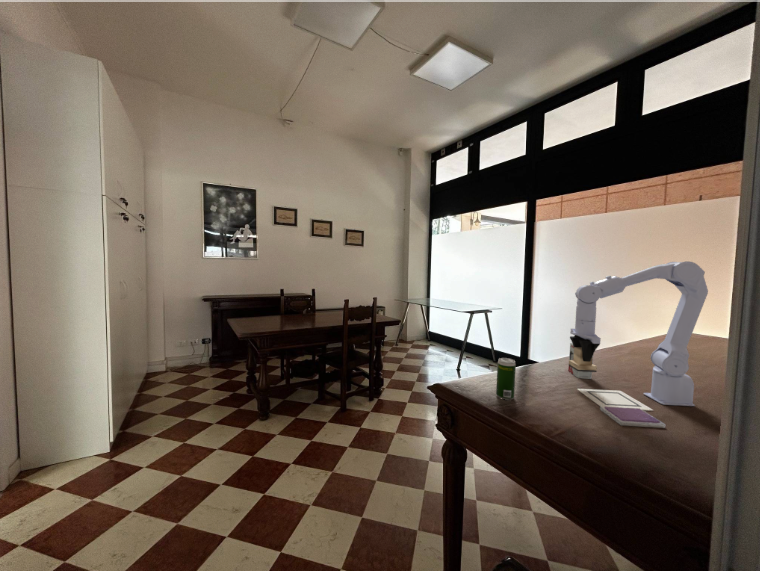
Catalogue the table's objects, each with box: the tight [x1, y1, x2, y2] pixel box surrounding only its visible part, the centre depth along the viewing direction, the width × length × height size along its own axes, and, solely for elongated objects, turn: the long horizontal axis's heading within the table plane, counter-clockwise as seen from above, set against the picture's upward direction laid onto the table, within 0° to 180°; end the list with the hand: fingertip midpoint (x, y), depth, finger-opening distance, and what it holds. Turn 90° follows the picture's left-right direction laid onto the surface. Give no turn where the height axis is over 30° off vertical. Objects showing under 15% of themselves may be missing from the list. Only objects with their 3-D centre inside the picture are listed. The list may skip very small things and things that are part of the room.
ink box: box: [567, 342, 594, 380], centre depth 120 cm, size 9×5×12 cm, turn 172°
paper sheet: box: [576, 388, 654, 412], centre depth 99 cm, size 14×14×1 cm
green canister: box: [495, 357, 517, 401], centre depth 99 cm, size 5×5×12 cm
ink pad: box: [599, 406, 666, 429], centre depth 86 cm, size 11×9×1 cm
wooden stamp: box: [568, 347, 598, 373], centre depth 107 cm, size 6×6×7 cm
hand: (583, 359), depth 107 cm, fingers closed on wooden stamp, 4 cm apart
